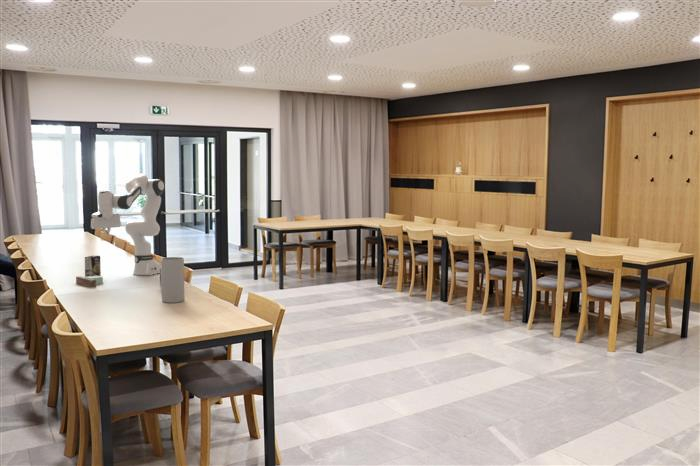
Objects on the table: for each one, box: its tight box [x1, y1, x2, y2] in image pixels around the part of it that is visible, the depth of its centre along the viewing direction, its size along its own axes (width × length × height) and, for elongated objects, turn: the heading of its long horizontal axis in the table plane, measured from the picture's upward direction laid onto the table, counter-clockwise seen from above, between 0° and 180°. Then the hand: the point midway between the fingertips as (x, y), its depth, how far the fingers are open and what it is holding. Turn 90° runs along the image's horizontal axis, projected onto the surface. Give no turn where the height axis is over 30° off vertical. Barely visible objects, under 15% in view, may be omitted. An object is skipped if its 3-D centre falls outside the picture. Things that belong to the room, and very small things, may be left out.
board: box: [75, 275, 97, 288], centre depth 396 cm, size 3×20×4 cm, turn 51°
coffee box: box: [84, 255, 102, 277], centre depth 417 cm, size 9×6×16 cm
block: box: [86, 275, 104, 286], centre depth 401 cm, size 8×8×5 cm
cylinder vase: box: [160, 256, 185, 304], centre depth 351 cm, size 12×12×25 cm
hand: (106, 234), depth 410 cm, fingers closed
